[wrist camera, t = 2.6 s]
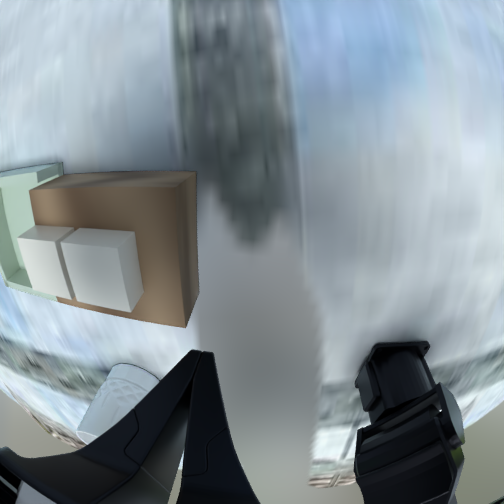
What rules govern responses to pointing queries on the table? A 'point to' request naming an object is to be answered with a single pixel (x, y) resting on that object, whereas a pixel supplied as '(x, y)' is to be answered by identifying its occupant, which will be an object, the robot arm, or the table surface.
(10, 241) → the tray
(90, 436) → the white cup
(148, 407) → the robot arm
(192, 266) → the tan cardboard slab
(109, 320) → the table surface
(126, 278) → the tile
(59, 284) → the tile
